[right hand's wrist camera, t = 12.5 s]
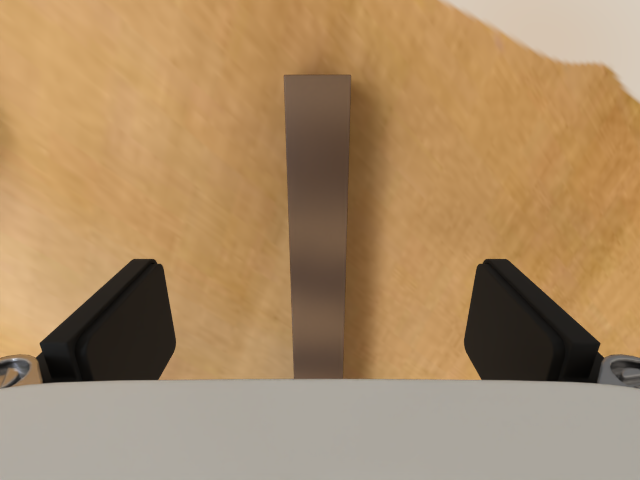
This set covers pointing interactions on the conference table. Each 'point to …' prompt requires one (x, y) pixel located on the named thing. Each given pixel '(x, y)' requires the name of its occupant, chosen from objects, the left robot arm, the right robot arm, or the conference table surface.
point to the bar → (317, 218)
